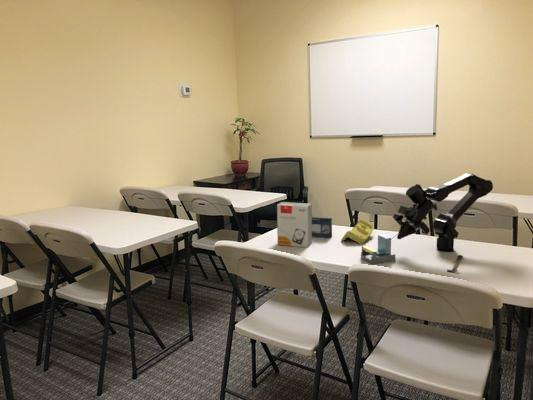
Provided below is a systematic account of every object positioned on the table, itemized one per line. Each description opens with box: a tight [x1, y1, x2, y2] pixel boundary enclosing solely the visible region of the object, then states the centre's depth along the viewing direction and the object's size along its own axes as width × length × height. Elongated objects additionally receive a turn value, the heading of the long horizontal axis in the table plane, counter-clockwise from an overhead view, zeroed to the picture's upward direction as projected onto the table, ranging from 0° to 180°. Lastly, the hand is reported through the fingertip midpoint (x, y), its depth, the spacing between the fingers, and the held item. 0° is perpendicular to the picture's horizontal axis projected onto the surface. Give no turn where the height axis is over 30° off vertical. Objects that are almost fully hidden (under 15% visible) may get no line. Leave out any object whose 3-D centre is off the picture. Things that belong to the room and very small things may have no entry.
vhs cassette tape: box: [312, 216, 333, 239], centre depth 210 cm, size 18×3×10 cm, turn 70°
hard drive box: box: [276, 201, 313, 248], centre depth 196 cm, size 16×8×20 cm, turn 68°
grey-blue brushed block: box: [374, 233, 392, 256], centre depth 172 cm, size 6×6×8 cm
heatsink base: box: [360, 245, 397, 265], centre depth 172 cm, size 11×9×5 cm
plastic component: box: [341, 219, 375, 244], centre depth 205 cm, size 20×7×10 cm
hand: (398, 238), depth 174 cm, fingers closed
